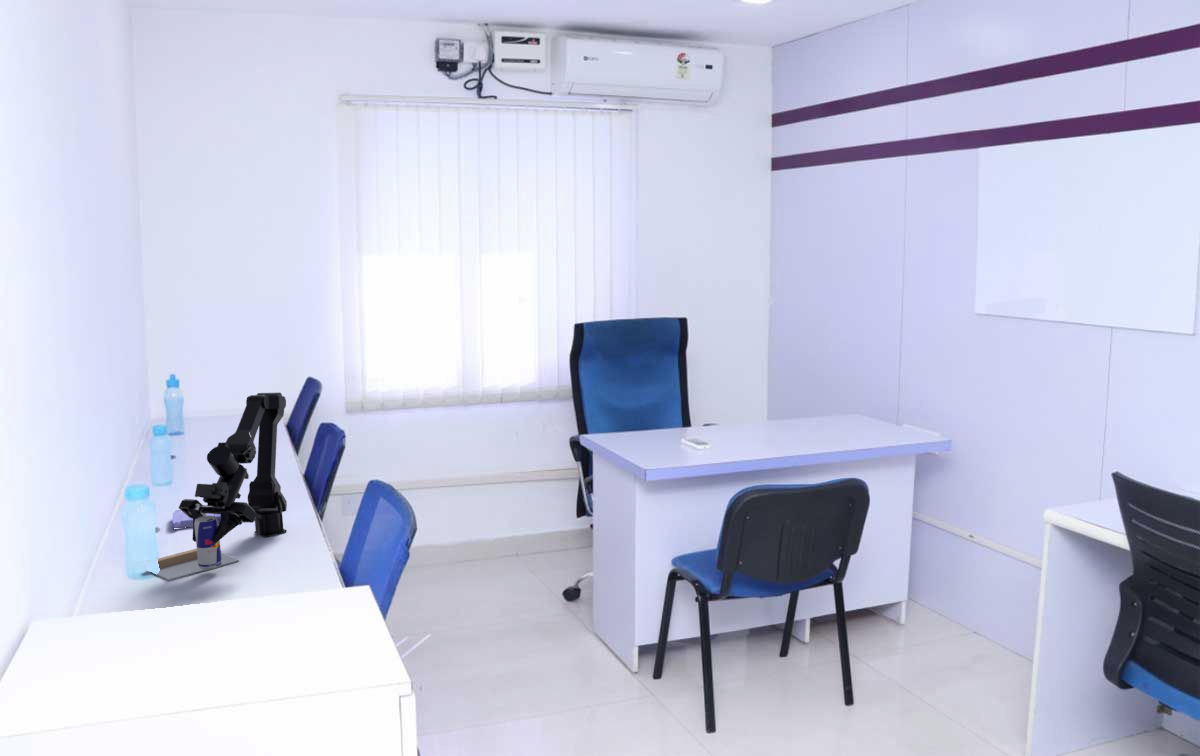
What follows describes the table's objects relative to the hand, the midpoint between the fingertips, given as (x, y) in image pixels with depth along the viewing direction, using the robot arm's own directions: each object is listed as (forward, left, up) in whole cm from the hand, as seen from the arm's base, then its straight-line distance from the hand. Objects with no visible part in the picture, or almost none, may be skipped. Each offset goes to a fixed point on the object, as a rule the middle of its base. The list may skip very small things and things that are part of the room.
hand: (204, 541), depth 242 cm
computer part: (-28, -44, -9) cm, 53 cm away
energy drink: (-1, -1, -7) cm, 7 cm away
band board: (-1, -10, -9) cm, 13 cm away
